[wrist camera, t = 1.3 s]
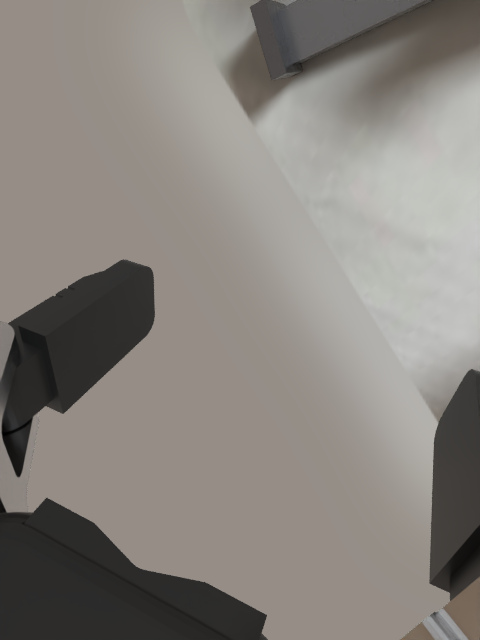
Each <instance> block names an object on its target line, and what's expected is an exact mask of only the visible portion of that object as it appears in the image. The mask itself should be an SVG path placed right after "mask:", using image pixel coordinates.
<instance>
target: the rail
mask: <svg viewBox="0 0 480 640" xmlns="http://www.w3.org/2000/svg"><path fill="white" fill-rule="evenodd" d="M430 1H432V0H297V1H295V2H293V3H291V4H290V5H288V6H286V7H285V5H284V4H281V3H278V2H275V1H272V0H261V1H259V2H258V3H256V4H254V5H253V6H251V7H250V9H251V12H252V16H253V19H254V22H255V26H256V29H257V32H258V36H259V39H260V42H261V46H262V49H263V52H264V56H265V59H266V63H267V66H268V69H269V73H270V76H271V79H272V80H276V79H282V78H288V77H291V76H293V75H296V74H298V73H300V72H302V71H303V70H302V67H301V63H302V62H304V61H306V60H309V59H311V58H313V57H315V56H317V55H319V54H321V53H323V52H325V51H327V50H330V49H332V48H334V47H336V46H338V45H340V44H342V43H344V42H346V41H348V40H351V39H353V38H355V37H357V36H359V35H361V34H363V33H365V32H367V31H369V30H372V29H374V28H376V27H378V26H380V25H382V24H384V23H386V22H388V21H390V20H393V19H395V18H397V17H399V16H401V15H403V14H405V13H407V12H409V11H411V10H414V9H416V8H418V7H420V6H422V5H424V4H426V3H428V2H430Z"/></svg>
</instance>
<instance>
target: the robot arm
mask: <svg viewBox="0 0 480 640" xmlns="http://www.w3.org/2000/svg"><path fill="white" fill-rule="evenodd" d="M153 278H154V277H153V272H152V270H151V268H150V267H147V266H144V265H141V264H137V263H134V262H131V261H128V260H121V261H119V262H118V263H116V264H114V265H113V266H111V267H110V268H108V269H106V270H105V271H102V272H99V273H95V274H93V275H89V276H86V277H83V278H81V279H79V280H78V281H76V282H75V283H73V284H71V285H70V286H68V289H66V288H65V289H63V290H62V291H60V292H58V293H57V294H56V296H55V297H54V296H52V297H50V298H49V299H47V300H45V301H44V302H42V303H40V304H39V305H37V306H36V307H34V308H32V309H31V310H29V311H28V312H26V313H24V314H23V315H21V316H19V317H18V318H16V319H14V320H13V321H11V322H9V323H8V324H7V323H5V322H2V321H0V640H268V639H267V638H266V637H265V636H264V635H263V634H262V633H261V632H262V629H263V626H264V623H265V620H266V617H267V615H265V614H264V613H262V612H260V611H258V610H256V609H254V608H252V607H250V606H249V605H247V604H245V603H243V602H241V601H239V600H237V599H235V598H234V597H232V596H230V595H228V594H226V593H224V592H222V591H220V590H219V589H217V588H215V587H213V586H211V585H209V584H207V583H205V582H200V581H195V580H190V579H185V578H181V577H176V576H171V575H166V574H161V573H156V572H151V571H147V570H142V569H140V568H138V567H136V566H135V565H134V564H132V563H131V562H130V560H129V559H128V558H127V557H126V556H125V555H124V554H123V553H122V552H121V551H120V550H119V549H118V548H117V547H116V546H115V545H114V544H113V542H112V541H110V539H109V538H108V537H107V536H106V535H105V534H104V533H103V532H102V531H101V530H100V529H99V528H98V527H97V526H96V525H95V524H94V523H93V522H91V521H89V520H87V519H86V518H84V517H82V516H80V515H78V514H76V513H74V512H72V511H71V510H69V509H67V508H65V507H63V506H61V505H59V504H57V503H55V502H54V501H52V500H50V499H48V498H46V499H45V500H44V501H43V502H42V504H41V505H40V506H39V507H38V508H37V509H36V510H35V511H34V513H30V512H28V506H27V485H28V479H29V473H30V468H31V463H32V457H33V452H34V446H35V440H36V435H37V430H38V424H39V417H38V412H39V411H40V410H41V409H42V408H43V407H44V406H47V407H49V408H52V409H54V410H56V411H58V412H60V413H62V414H63V413H65V412H66V411H67V410H68V409H69V408H70V407H71V406H72V405H73V404H74V403H75V402H76V401H77V400H79V399H80V398H81V397H82V396H83V395H84V394H85V393H86V392H87V391H88V390H89V389H90V388H91V387H92V386H93V385H94V384H96V383H97V382H98V381H99V380H100V379H101V378H102V377H103V376H104V375H105V374H106V373H107V372H108V371H109V370H110V369H112V368H113V367H114V366H115V365H116V364H117V363H118V362H119V361H120V360H121V359H122V358H123V357H124V356H125V355H126V354H128V352H130V351H131V350H132V349H133V348H134V347H135V346H136V345H137V344H138V343H139V342H140V341H141V340H142V339H143V338H145V337H146V336H147V334H148V333H149V331H150V330H151V328H152V325H153V322H154V317H155V310H154V279H153ZM430 584H432V585H434V586H436V587H438V588H441V589H443V590H445V591H447V592H449V593H450V602H449V603H448V604H447V605H445V606H444V607H443V608H442V609H440V610H439V611H438V612H434V613H433V614H431V615H430V616H428V617H427V618H426V619H425V620H423V621H422V622H421V623H420V624H418V625H417V626H416V627H415V628H414V629H412V630H411V631H410V632H409V633H408V634H406V635H405V636H404V637H403V638H402V639H400V640H480V372H479V371H476V370H473V369H472V370H470V371H468V373H467V374H466V375H465V377H464V378H463V380H462V382H461V384H460V385H459V387H458V389H457V391H456V392H455V394H454V396H453V398H452V399H451V401H450V403H449V405H448V406H447V408H446V410H445V411H444V413H443V415H442V417H441V419H440V421H439V424H438V427H437V430H436V434H435V439H434V460H433V491H432V522H431V553H430Z"/></svg>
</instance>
